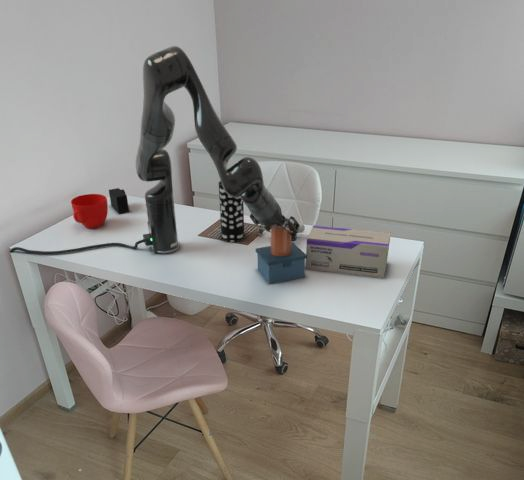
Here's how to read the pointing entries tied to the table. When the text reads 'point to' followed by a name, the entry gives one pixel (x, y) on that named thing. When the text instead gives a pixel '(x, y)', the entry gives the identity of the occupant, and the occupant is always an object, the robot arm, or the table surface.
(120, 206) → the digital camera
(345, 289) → the table surface
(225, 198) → the white-spotted black cylinder
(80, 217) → the ceramic cup
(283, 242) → the tumbler
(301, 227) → the clip-on lamp
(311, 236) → the surgical sutures box
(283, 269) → the storage box
